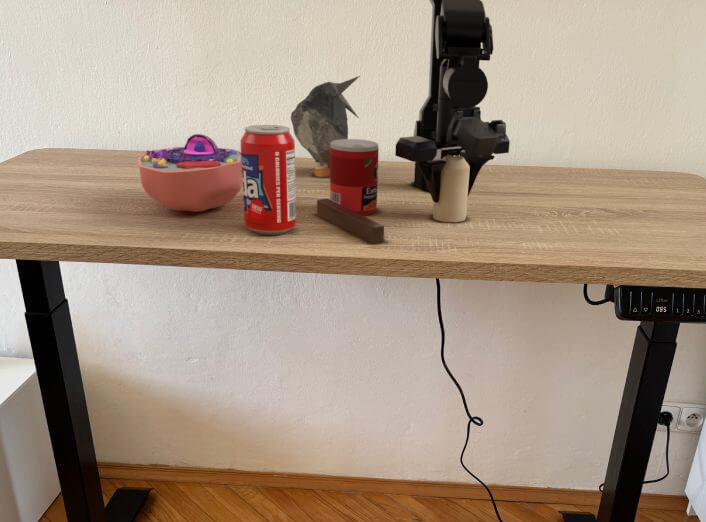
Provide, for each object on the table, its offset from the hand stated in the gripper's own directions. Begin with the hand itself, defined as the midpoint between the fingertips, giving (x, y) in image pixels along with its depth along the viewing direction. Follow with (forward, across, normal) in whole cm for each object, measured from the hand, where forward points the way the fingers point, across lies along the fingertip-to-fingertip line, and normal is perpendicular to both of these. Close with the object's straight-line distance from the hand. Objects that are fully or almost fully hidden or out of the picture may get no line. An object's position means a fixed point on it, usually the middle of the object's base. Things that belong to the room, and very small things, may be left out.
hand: (450, 200), depth 128 cm
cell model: (+3, -35, +23) cm, 42 cm away
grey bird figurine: (+3, -2, +39) cm, 39 cm away
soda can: (+3, -29, +6) cm, 30 cm away
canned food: (+3, -12, +11) cm, 17 cm away
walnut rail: (+3, -18, +2) cm, 18 cm away
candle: (+3, 0, 0) cm, 3 cm away
